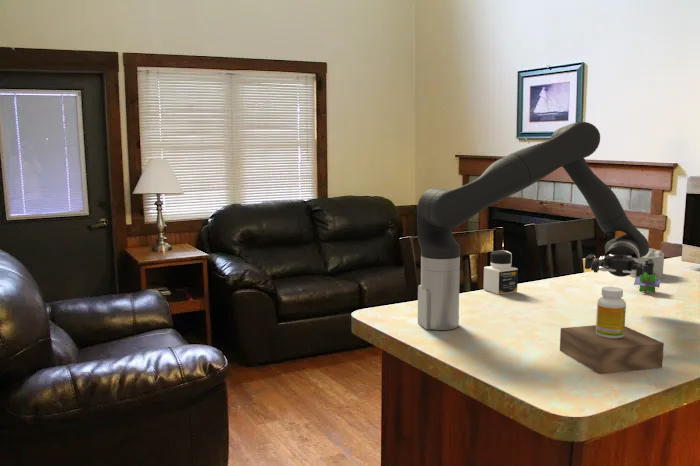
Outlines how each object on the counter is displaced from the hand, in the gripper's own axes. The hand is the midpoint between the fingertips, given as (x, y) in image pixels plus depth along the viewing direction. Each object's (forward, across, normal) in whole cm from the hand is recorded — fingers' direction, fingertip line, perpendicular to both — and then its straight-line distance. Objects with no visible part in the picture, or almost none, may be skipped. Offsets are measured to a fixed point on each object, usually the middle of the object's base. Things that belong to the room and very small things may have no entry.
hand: (616, 269), depth 138 cm
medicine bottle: (-38, -34, +17) cm, 53 cm away
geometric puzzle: (-54, +5, +16) cm, 56 cm away
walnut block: (+11, 0, +17) cm, 20 cm away
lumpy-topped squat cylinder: (-78, +4, +16) cm, 80 cm away
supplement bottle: (+11, 0, +12) cm, 16 cm away
